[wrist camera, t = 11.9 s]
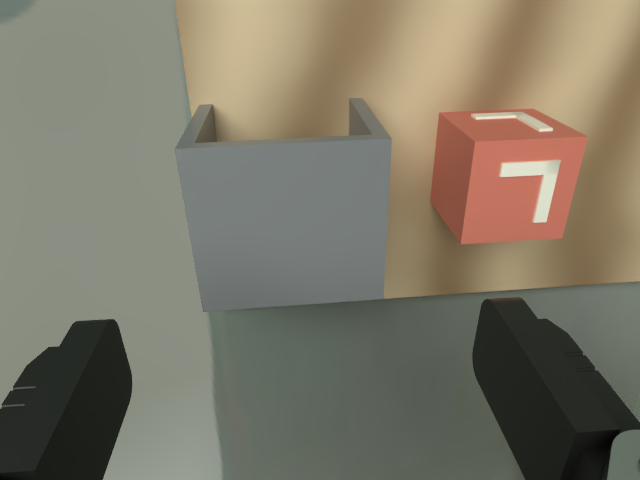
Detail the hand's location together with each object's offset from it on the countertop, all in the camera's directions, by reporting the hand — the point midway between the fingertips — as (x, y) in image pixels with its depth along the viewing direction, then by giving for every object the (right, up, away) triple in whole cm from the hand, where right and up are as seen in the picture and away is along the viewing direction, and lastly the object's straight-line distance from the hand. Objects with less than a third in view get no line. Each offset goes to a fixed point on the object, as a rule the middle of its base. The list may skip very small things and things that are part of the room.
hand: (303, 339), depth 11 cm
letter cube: (+7, +6, +10) cm, 14 cm away
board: (+7, +6, +11) cm, 15 cm away
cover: (-1, +5, +10) cm, 11 cm away
